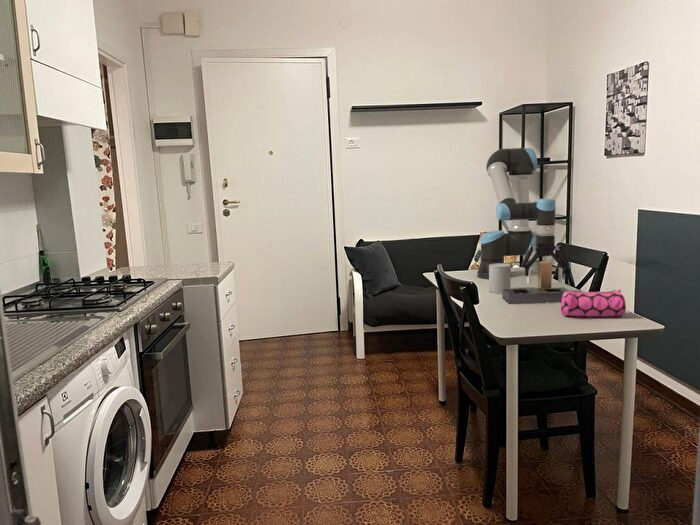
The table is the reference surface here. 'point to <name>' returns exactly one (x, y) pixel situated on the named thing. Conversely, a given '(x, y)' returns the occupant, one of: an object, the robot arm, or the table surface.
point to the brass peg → (544, 274)
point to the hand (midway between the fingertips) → (544, 282)
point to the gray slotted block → (533, 295)
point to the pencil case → (593, 304)
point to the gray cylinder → (499, 277)
